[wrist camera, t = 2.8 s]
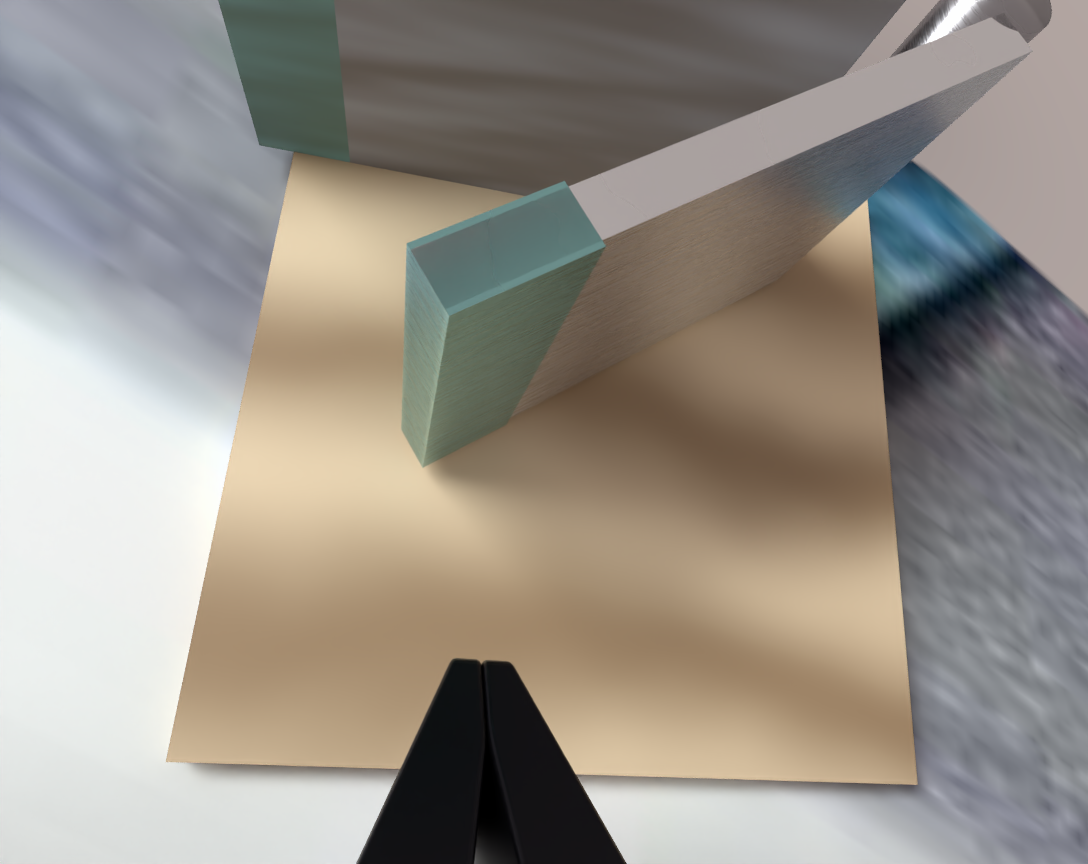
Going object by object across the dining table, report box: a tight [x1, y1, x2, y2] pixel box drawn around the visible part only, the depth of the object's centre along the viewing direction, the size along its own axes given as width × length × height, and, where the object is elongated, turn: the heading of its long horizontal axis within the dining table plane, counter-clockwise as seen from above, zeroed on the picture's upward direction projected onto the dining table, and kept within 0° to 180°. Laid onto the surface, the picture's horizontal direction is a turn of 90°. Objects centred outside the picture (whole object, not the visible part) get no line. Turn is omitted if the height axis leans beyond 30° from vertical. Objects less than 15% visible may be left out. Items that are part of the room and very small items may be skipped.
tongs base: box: [166, 0, 918, 785], centre depth 14 cm, size 18×19×10 cm
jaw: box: [401, 0, 1052, 468], centre depth 15 cm, size 2×13×9 cm, turn 121°
